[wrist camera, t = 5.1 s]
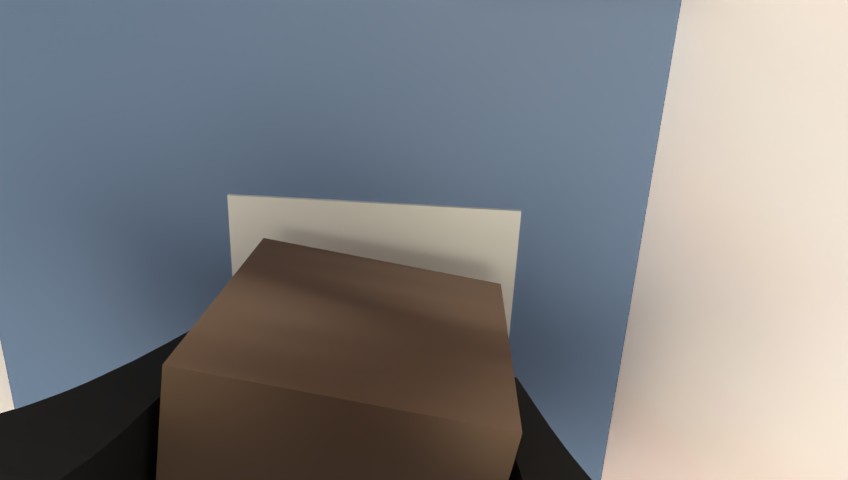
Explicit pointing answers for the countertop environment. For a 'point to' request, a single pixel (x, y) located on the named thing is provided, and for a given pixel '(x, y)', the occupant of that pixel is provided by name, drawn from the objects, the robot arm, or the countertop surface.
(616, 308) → the blueprint board
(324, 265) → the walnut block
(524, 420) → the robot arm
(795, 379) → the countertop surface
